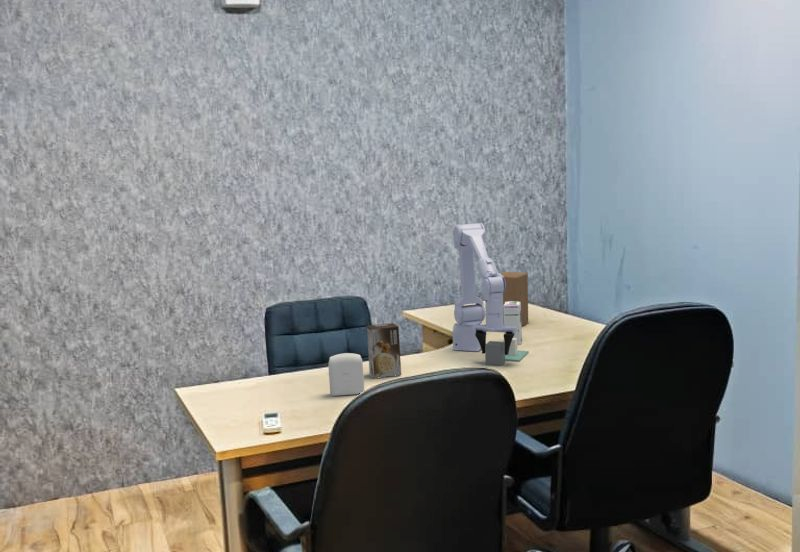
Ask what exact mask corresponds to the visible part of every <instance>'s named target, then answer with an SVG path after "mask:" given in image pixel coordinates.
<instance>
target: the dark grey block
mask: <svg viewBox="0 0 800 552" xmlns="http://www.w3.org/2000/svg"><path fill="white" fill-rule="evenodd" d="M484 356H485V357H484V358H485V365H486V366H493V367H494V366H495V367H497V366H498V367H501V366H503V365H504V364H505V363H506V361H505V342H504V341H500V340H499V341H497V340H489V341H488V342H487V343H486V344H485V354H484Z"/></svg>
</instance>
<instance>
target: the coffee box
mask: <svg viewBox="0 0 800 552" xmlns="http://www.w3.org/2000/svg"><path fill="white" fill-rule="evenodd" d="M399 330H400V328H399V326H398V325H397V324H395V323H393V322H391V323H383V324H382V323H381V324H372V325H366V333H367V334H366V335H367V336H366V337H367V349H368V351H367V352H368V353H367V354H368V371H369V375H370V374H371V375H370V376H371V377H372V376H373V377H374V378H377V379H379V378H378V377H385V376H393V377H396V376H395V375H401V376H402V366H401V365H402V361H401V347H400V331H399ZM373 377H372V378H373ZM374 378H373V379H374ZM385 378H386V377H385Z"/></svg>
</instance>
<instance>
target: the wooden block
mask: <svg viewBox="0 0 800 552" xmlns="http://www.w3.org/2000/svg"><path fill="white" fill-rule="evenodd" d="M500 274H501V275H502V276H503V277H504V279H505V282H506V290H505V292H504V293H503V305H504V303H505V302H509V301H518V302H521V326H522V327H523V326H526V325H528V324H529V287H528V286H529V284H528V283H529V280H528V278H529V277H528V274H529V273H527V272H516V271H502V272H500ZM503 323H504V307H503Z"/></svg>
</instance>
